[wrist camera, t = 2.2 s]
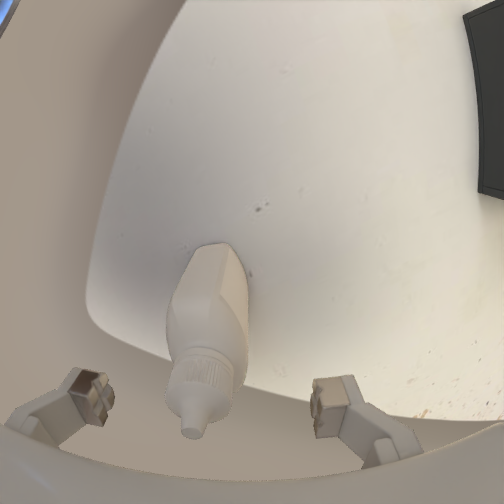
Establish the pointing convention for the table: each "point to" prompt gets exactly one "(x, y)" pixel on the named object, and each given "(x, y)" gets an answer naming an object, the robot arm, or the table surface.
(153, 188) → the table surface
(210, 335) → the eye dropper bottle
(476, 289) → the table surface
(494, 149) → the bin
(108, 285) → the table surface
